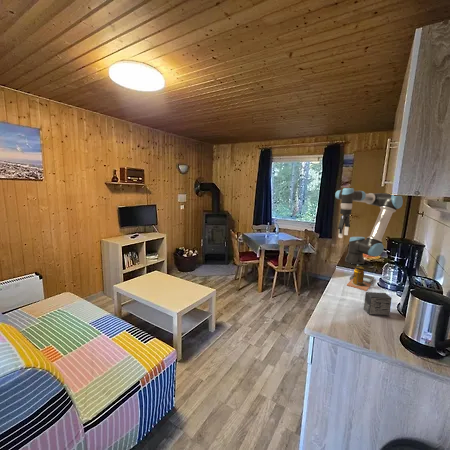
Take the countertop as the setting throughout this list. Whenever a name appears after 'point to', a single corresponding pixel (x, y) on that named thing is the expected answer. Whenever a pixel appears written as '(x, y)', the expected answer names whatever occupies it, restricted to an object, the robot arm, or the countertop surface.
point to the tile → (359, 286)
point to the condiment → (358, 276)
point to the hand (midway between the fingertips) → (343, 236)
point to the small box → (377, 304)
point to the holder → (365, 277)
